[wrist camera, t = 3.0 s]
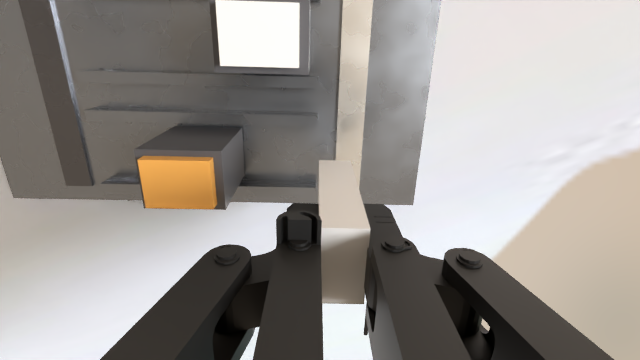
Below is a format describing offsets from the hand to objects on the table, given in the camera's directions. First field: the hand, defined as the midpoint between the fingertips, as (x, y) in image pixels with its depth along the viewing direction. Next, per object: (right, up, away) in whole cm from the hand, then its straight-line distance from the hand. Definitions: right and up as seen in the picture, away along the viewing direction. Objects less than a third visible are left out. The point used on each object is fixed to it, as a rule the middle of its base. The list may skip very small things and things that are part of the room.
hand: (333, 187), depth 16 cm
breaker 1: (-7, +2, +5) cm, 9 cm away
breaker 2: (-3, +8, +2) cm, 9 cm away
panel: (-7, +9, +3) cm, 12 cm away
